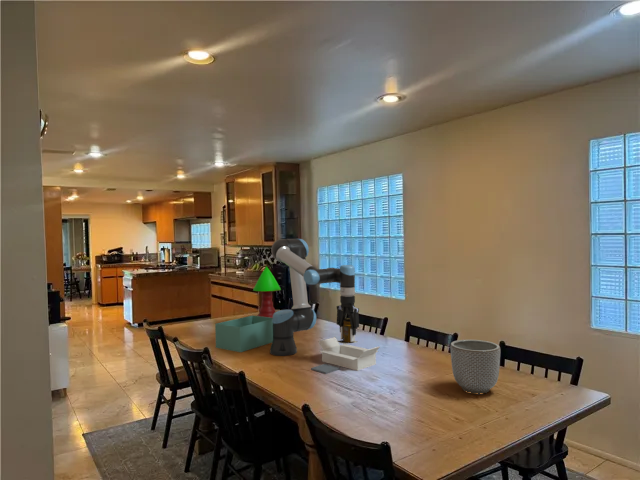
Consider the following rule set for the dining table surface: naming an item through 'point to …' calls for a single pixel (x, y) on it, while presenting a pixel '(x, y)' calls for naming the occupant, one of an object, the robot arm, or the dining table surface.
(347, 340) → the condiment
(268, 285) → the table lamp
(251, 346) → the box
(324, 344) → the carton
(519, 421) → the dining table surface
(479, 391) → the planter
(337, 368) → the coaster
